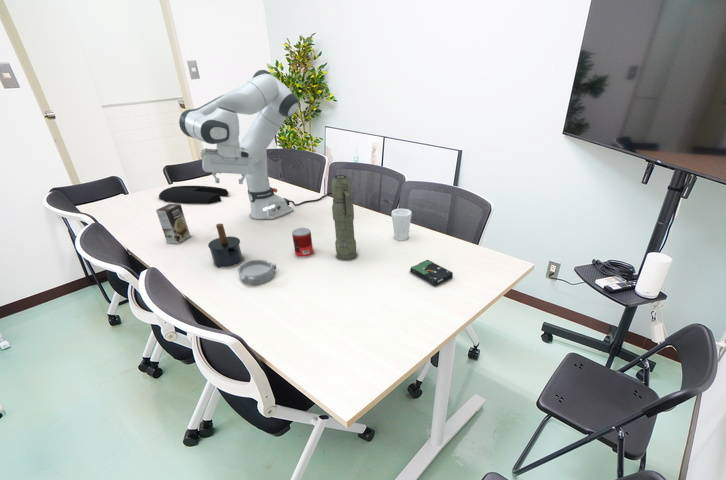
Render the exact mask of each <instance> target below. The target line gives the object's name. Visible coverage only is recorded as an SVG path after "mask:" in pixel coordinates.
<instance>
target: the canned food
mask: <svg viewBox="0 0 726 480" xmlns="http://www.w3.org/2000/svg"><path fill="white" fill-rule="evenodd" d="M291 236H292V242H293V247H294V253H295V255H296V256H297V257H301V258H306V257H309V256H311V255H313V253H314V248H313V247H314V246H313V240H312V232H311V229H310V228H309V227H298V228H295V229H293V230H292V232H291Z"/></svg>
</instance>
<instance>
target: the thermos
mask: <svg viewBox="0 0 726 480" xmlns="http://www.w3.org/2000/svg"><path fill="white" fill-rule="evenodd" d="M351 185H352V184H351V181H350V178H349V177H348V176H347V175H345V174H337V175H334V176H333V177H332V180H331V193H332V194H331V195H332V205H331V211H332V212H331V214H332V219H333V222H334V230H335V241H334V243H335V252H336V258H337V259H338V260H340V261H351V260H354V259H356V258H357V241H356V238H355V228H354V227H355V225H354V219H355V210H354V204H353V202H352V201H353V200H352V188H351V187H352V186H351Z"/></svg>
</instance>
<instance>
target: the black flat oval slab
mask: <svg viewBox="0 0 726 480" xmlns="http://www.w3.org/2000/svg"><path fill="white" fill-rule="evenodd" d="M228 196H229V191H228V190H227V188H223V187H217V186H209V185H176V186H171V187H168V188H165V189H162V191H161V192H160V193H159V194H158V198H159V199H160V200H162V201H164V202H166V203H173V204H185V205H186V204H187V205H213V204H216V203H219V202H222V198H223V197H225V198H227V197H228ZM221 197H222V198H221Z"/></svg>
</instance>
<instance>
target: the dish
mask: <svg viewBox="0 0 726 480" xmlns="http://www.w3.org/2000/svg"><path fill="white" fill-rule="evenodd" d="M276 269H277V264H276V263H272V262H270V261H268V260H265V259H250V260H247V261H244V262H242V263H241V264H240V265H239V266H238V267H237V272H238V276H239V279H240V280H241V282H242V283H244V284H245V285H249V286H258V285H262V284H265V283H268V282H269V281H271V280H272V279H273V277H274V275H275V270H276Z"/></svg>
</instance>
